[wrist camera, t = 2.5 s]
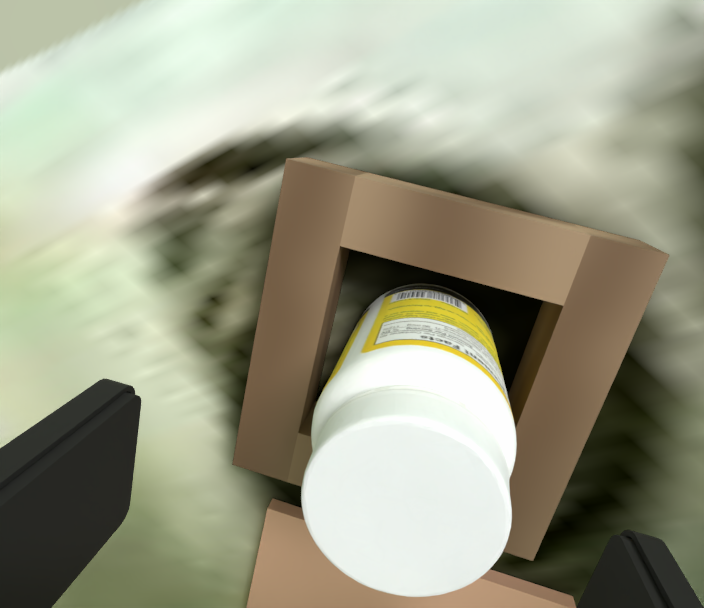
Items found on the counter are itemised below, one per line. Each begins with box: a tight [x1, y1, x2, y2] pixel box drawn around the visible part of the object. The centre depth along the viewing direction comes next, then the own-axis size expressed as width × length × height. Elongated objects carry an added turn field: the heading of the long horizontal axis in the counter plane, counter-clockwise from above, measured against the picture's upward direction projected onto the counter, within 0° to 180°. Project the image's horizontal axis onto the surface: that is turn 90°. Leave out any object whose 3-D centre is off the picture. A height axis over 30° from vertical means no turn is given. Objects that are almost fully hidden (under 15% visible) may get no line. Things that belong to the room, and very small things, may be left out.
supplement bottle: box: [301, 283, 517, 597], centre depth 13 cm, size 5×5×8 cm
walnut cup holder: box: [232, 157, 669, 561], centre depth 16 cm, size 10×10×2 cm
